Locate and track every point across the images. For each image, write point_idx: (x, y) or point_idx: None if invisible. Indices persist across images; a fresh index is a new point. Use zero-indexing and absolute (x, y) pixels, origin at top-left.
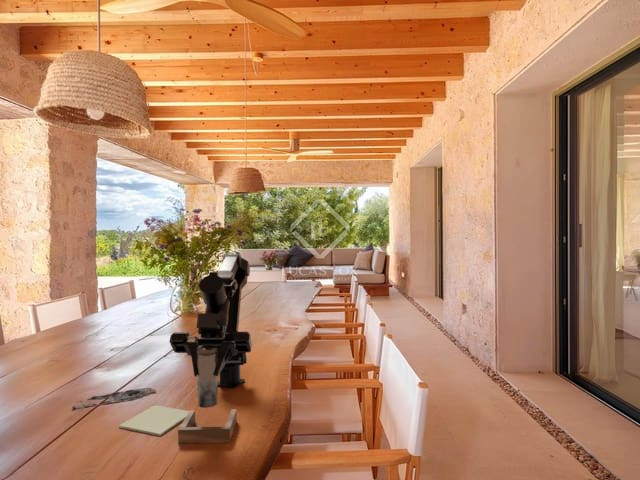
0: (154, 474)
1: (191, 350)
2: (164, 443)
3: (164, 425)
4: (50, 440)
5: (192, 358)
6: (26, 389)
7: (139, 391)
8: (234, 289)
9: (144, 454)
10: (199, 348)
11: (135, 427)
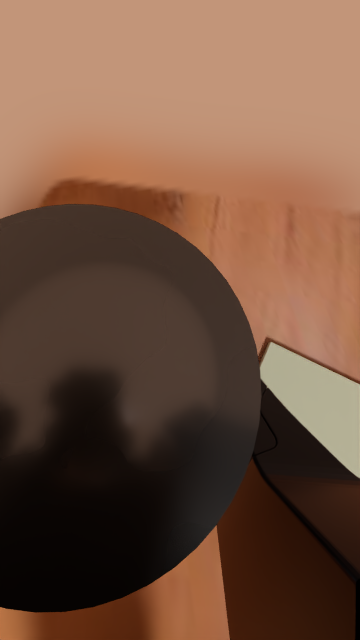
0: (234, 197)
1: (344, 485)
2: (249, 307)
3: (274, 387)
4: None
5: (271, 397)
6: None
7: None
8: None
9: (277, 267)
10: (213, 384)
11: (344, 383)
